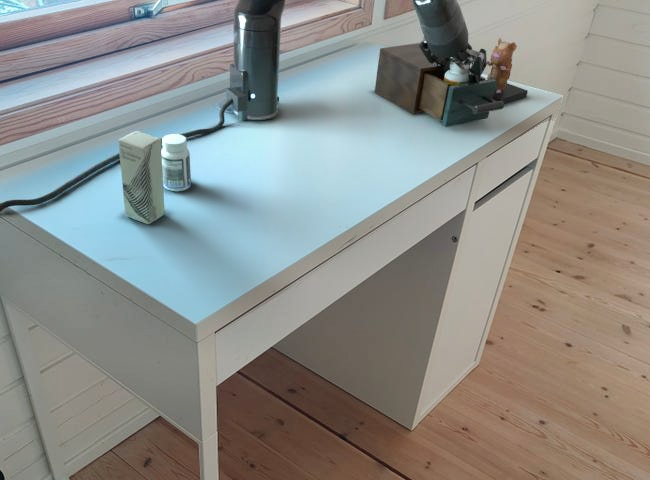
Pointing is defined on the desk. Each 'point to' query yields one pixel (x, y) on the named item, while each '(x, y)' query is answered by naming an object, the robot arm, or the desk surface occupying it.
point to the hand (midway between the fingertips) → (461, 76)
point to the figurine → (504, 73)
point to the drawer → (457, 99)
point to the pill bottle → (175, 163)
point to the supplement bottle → (456, 75)
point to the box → (142, 176)
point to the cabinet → (402, 75)
